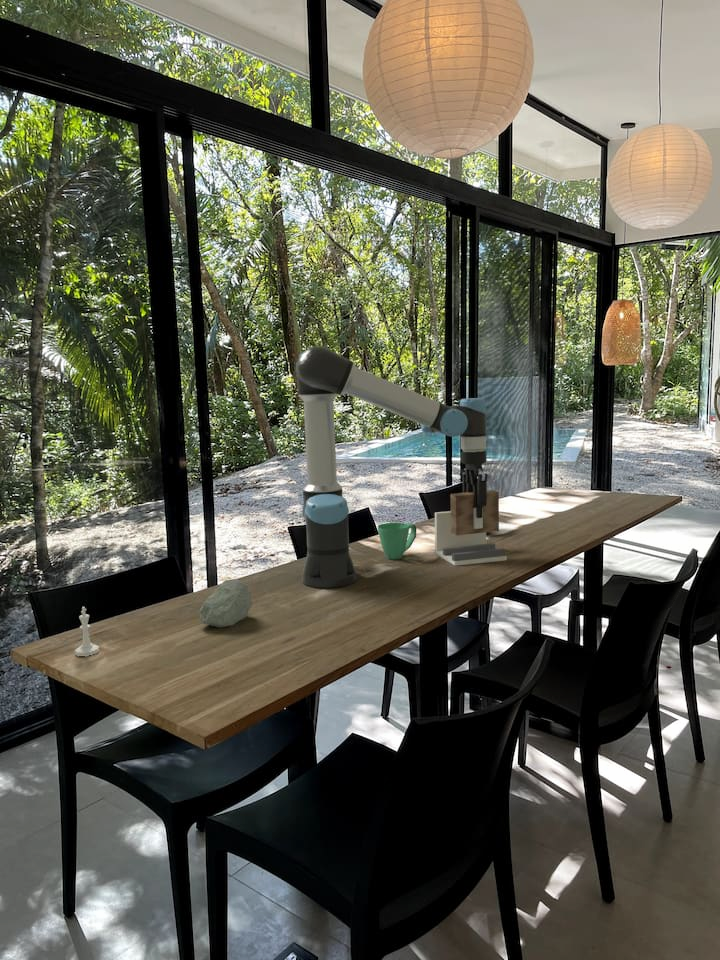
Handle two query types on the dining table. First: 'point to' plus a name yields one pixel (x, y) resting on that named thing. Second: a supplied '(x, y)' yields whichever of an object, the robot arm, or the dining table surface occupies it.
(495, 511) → the door slab
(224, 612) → the decorative stone
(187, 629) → the dining table surface
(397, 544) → the mug
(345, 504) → the robot arm
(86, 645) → the chess piece
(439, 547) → the track sill
